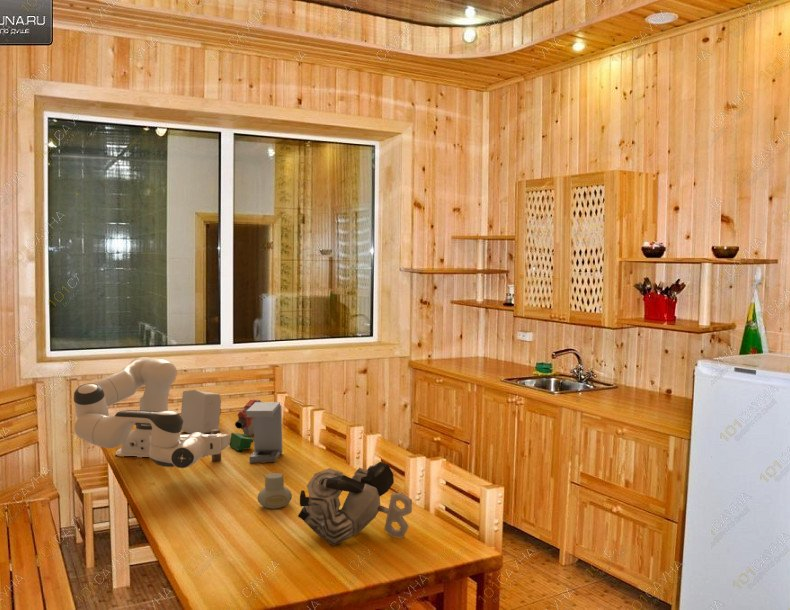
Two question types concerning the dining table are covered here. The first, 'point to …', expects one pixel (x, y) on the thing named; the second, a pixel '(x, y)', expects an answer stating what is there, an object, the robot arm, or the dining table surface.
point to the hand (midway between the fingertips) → (207, 435)
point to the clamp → (240, 441)
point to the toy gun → (246, 419)
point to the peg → (217, 456)
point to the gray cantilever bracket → (267, 425)
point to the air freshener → (274, 492)
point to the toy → (351, 503)
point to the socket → (264, 456)
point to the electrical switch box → (200, 411)
